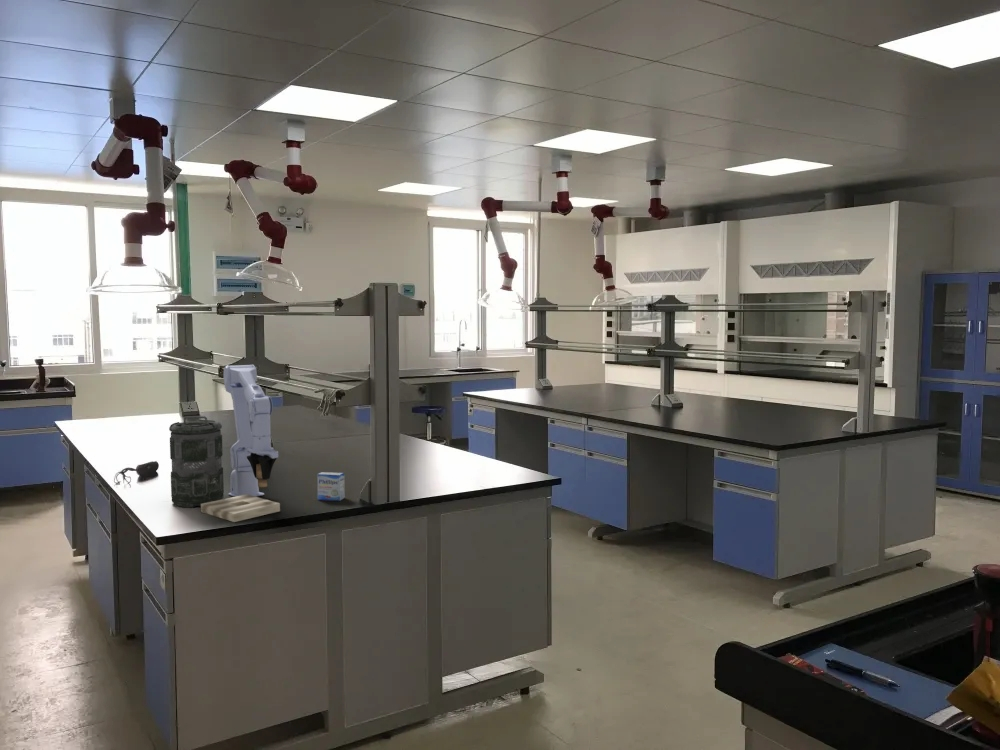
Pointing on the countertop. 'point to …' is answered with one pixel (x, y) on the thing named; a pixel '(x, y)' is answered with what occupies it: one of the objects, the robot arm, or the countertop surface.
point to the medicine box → (331, 486)
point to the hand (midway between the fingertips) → (262, 478)
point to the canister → (196, 462)
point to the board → (240, 507)
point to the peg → (260, 477)
